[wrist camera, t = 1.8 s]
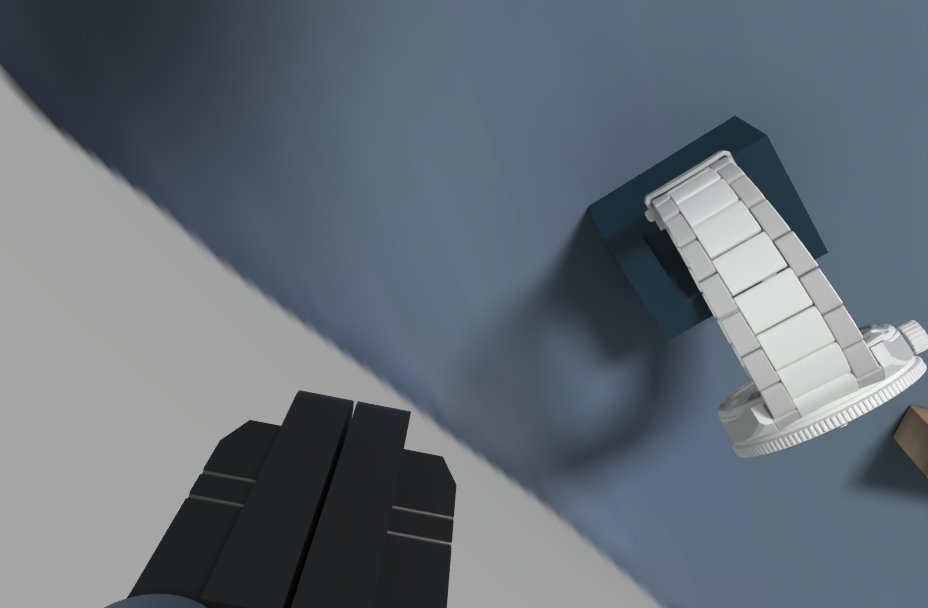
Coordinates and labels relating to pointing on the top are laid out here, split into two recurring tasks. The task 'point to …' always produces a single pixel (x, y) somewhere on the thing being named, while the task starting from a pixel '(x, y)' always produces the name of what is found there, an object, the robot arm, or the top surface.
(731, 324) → the watch
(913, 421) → the display stand
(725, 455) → the top surface
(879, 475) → the top surface
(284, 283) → the top surface
